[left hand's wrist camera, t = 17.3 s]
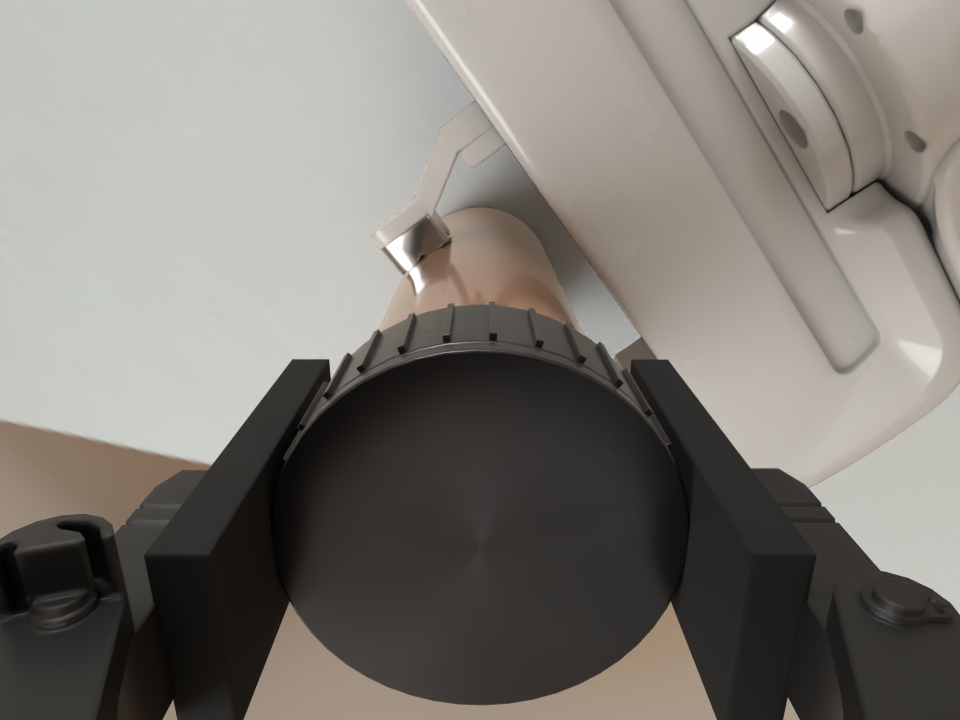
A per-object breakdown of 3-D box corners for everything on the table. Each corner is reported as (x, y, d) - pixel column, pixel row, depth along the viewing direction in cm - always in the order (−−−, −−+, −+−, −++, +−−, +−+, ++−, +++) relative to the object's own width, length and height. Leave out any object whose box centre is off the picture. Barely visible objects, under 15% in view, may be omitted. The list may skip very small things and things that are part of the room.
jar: (383, 281, 27) (238, 531, 11) (475, 176, 25) (467, 284, 9) (484, 367, 28) (489, 706, 12) (577, 272, 27) (724, 512, 11)
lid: (569, 650, 14) (586, 751, 11) (262, 553, 13) (218, 643, 11) (720, 377, 12) (776, 438, 9) (367, 242, 11) (337, 274, 9)
